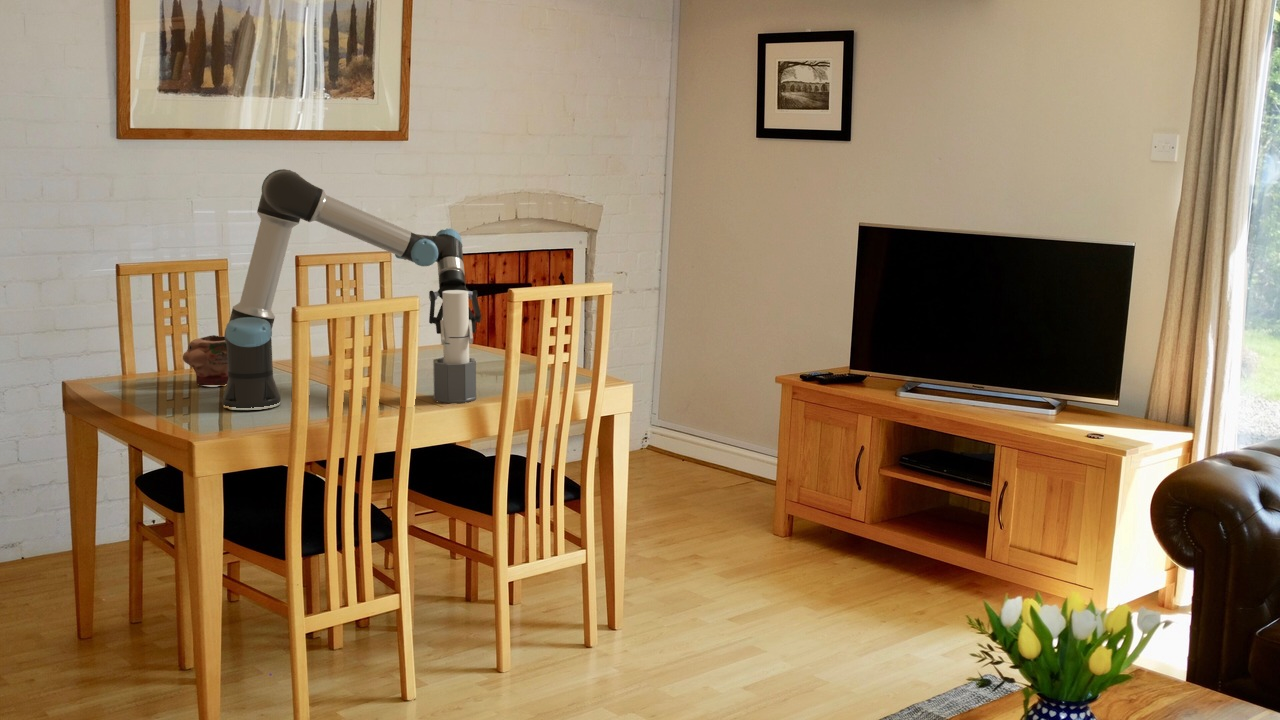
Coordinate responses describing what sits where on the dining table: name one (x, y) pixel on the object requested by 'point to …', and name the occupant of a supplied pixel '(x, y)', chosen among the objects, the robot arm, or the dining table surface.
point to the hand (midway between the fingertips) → (457, 341)
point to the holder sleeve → (454, 381)
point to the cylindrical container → (456, 326)
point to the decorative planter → (208, 360)
